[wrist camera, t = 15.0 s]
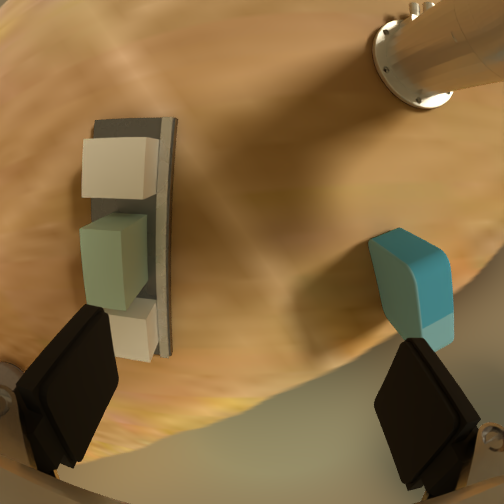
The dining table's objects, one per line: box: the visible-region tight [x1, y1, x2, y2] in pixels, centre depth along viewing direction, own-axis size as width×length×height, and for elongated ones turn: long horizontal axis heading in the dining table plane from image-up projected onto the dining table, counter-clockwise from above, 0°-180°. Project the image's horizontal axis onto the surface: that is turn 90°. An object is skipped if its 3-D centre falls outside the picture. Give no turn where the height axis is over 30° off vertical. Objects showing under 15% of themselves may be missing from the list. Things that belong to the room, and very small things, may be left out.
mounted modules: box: [82, 137, 160, 362], centre depth 32 cm, size 25×7×5 cm, turn 175°
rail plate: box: [91, 117, 178, 358], centre depth 34 cm, size 30×10×2 cm, turn 175°
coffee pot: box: [0, 362, 24, 391], centre depth 35 cm, size 21×12×15 cm, turn 108°
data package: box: [368, 228, 454, 352], centre depth 32 cm, size 12×4×12 cm, turn 22°
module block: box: [79, 213, 148, 311], centre depth 30 cm, size 8×4×8 cm, turn 175°
